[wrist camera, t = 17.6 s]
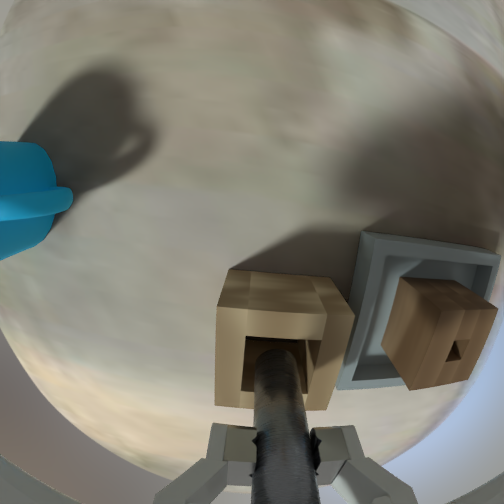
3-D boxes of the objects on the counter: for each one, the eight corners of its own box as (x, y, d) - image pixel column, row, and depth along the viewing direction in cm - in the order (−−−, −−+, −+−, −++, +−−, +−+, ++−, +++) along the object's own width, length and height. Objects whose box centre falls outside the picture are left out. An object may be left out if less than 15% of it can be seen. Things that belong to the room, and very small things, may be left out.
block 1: (329, 277, 16) (355, 315, 12) (312, 359, 18) (326, 410, 13) (228, 269, 16) (216, 306, 12) (224, 353, 18) (214, 405, 13)
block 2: (454, 280, 16) (498, 308, 11) (434, 341, 17) (467, 379, 12) (399, 276, 16) (441, 310, 11) (380, 344, 17) (409, 390, 12)
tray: (483, 248, 16) (501, 255, 13) (446, 361, 18) (458, 376, 16) (361, 230, 16) (375, 238, 13) (330, 370, 18) (336, 390, 16)
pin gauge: (299, 349, 12) (335, 532, 4) (292, 381, 13) (314, 548, 4) (257, 347, 12) (253, 537, 4) (253, 379, 13) (247, 550, 4)
